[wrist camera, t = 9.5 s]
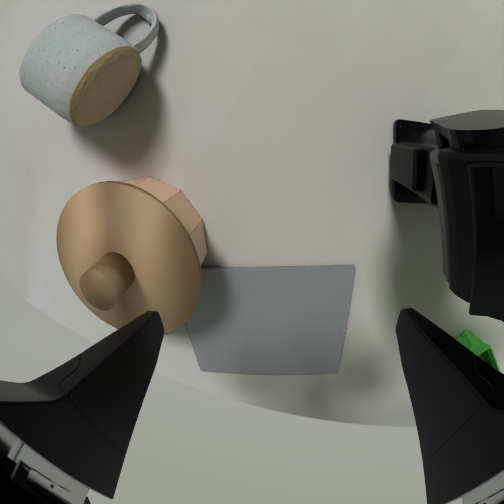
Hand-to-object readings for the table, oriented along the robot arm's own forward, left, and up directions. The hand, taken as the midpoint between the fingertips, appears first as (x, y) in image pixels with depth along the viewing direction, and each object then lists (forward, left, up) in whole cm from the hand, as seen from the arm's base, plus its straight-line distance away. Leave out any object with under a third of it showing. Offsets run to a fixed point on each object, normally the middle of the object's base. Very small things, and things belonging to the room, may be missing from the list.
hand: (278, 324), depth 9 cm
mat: (+2, +12, -13) cm, 18 cm away
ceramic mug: (+13, -15, -13) cm, 24 cm away
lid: (+12, +2, -8) cm, 14 cm away
